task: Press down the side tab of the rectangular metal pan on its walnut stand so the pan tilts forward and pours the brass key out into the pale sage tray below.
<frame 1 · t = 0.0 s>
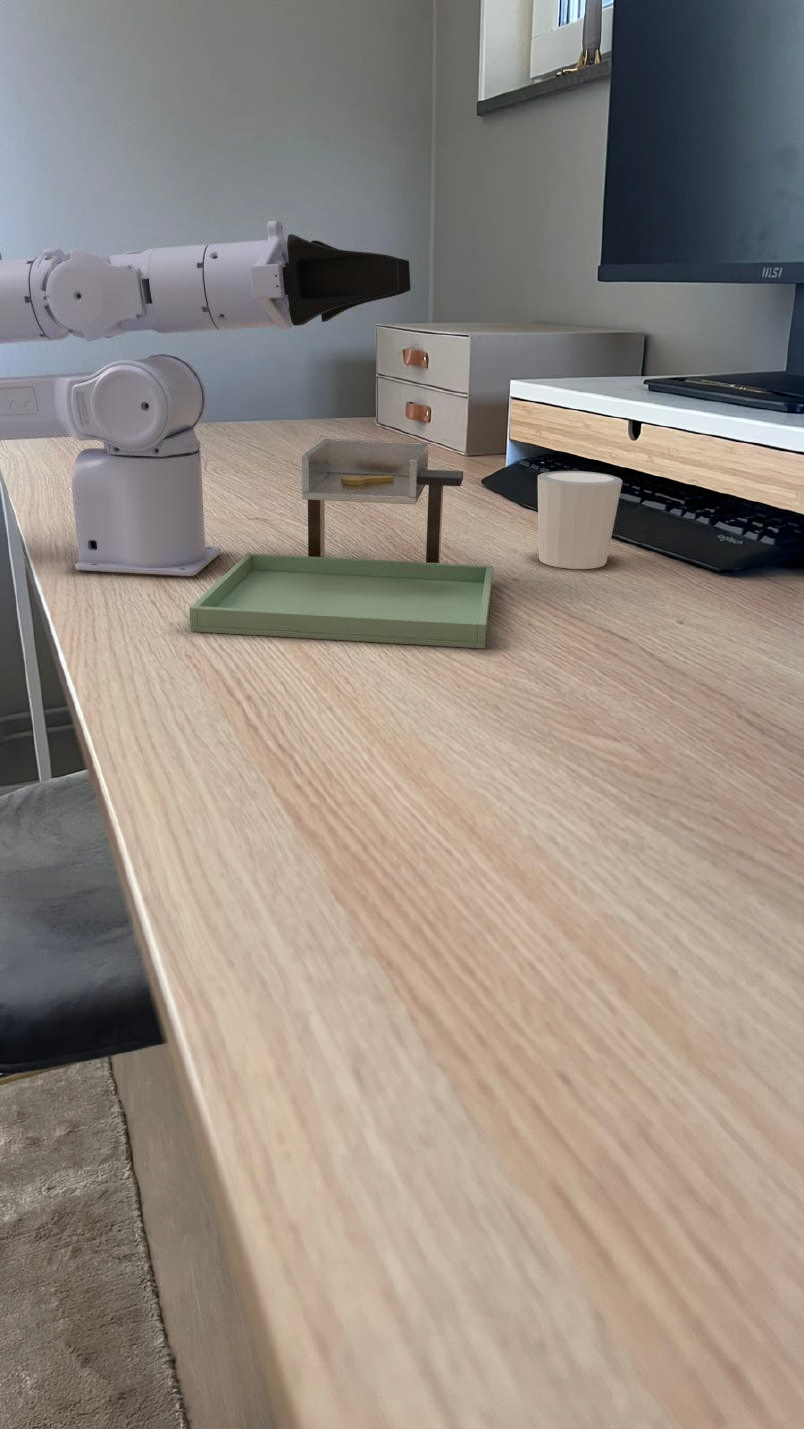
hand: (404, 274, 72), 22 cm above the table, tool horizontal, fingers open, 7 cm apart
white cup: (572, 563, 87), on the table
rectangular metal pan: (388, 470, 75), point 9 cm above the table, hinge at 0.0°, touching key
tray: (353, 607, 73), on the table
stand: (374, 568, 83), on the table
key: (368, 482, 76), point 7 cm above the table, touching rectangular metal pan
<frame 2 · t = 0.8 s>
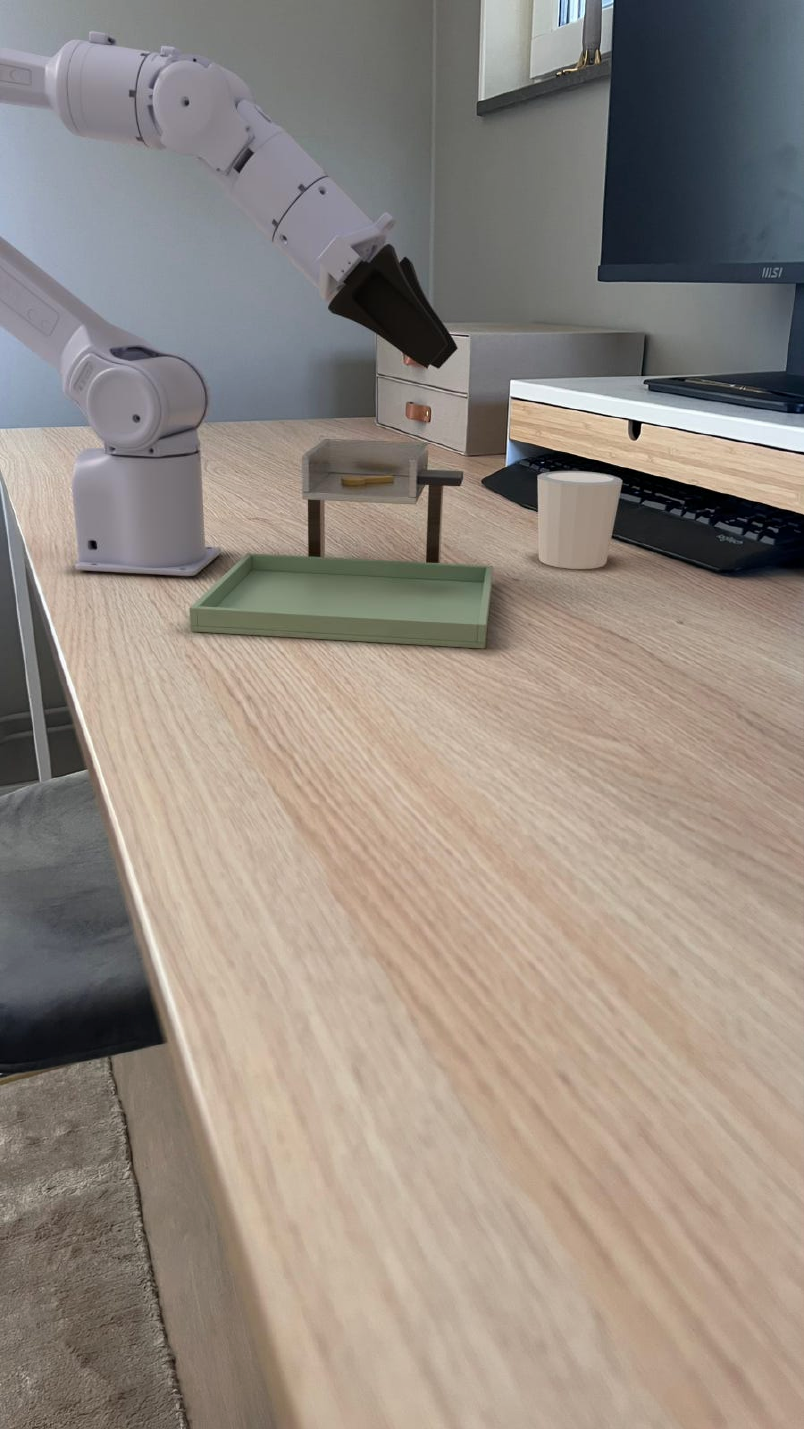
hand: (442, 357, 72), 16 cm above the table, tool tilted 50°, fingers open, 7 cm apart
nothing on the table moved.
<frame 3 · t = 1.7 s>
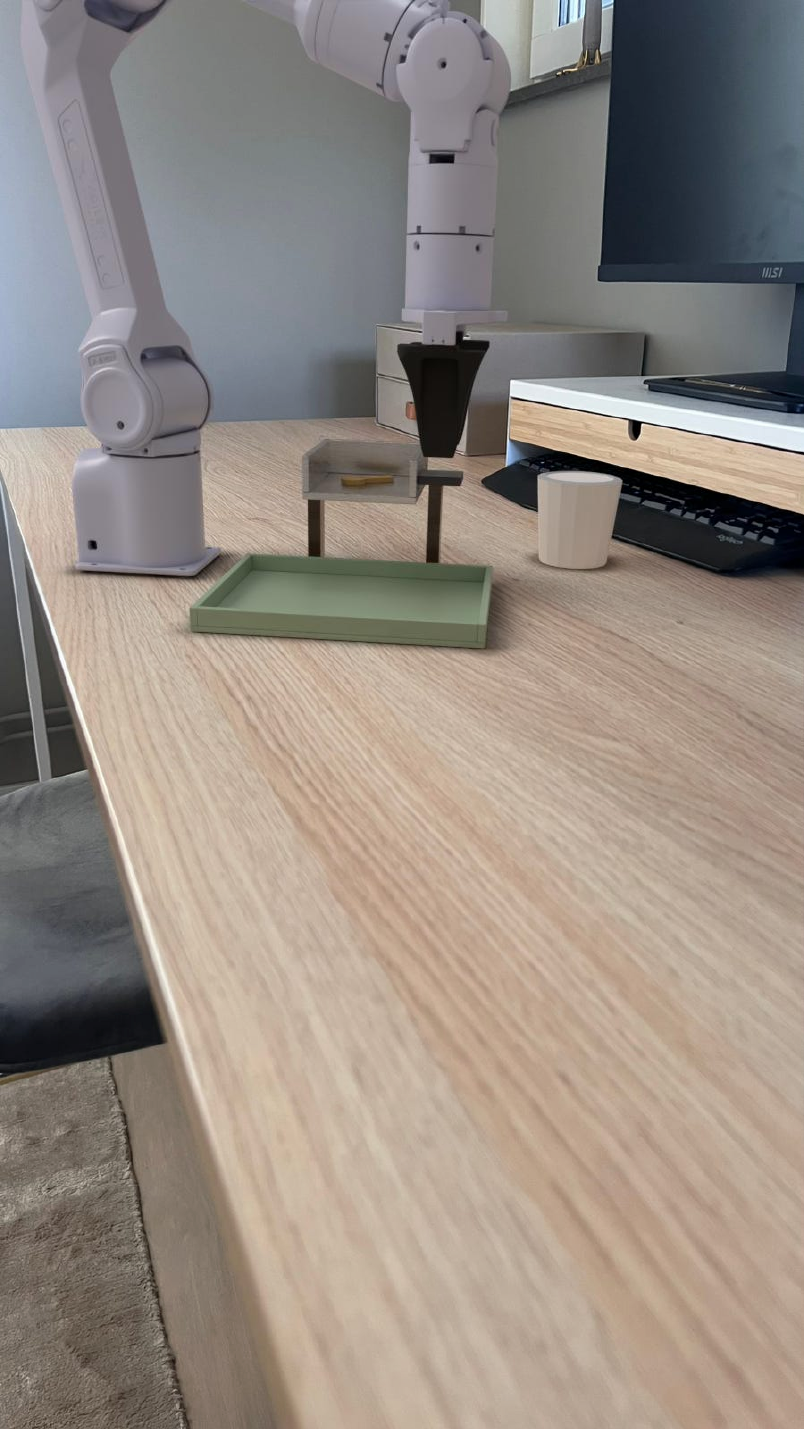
hand: (441, 450, 72), 10 cm above the table, tool pointing down, fingers open, 6 cm apart
nothing on the table moved.
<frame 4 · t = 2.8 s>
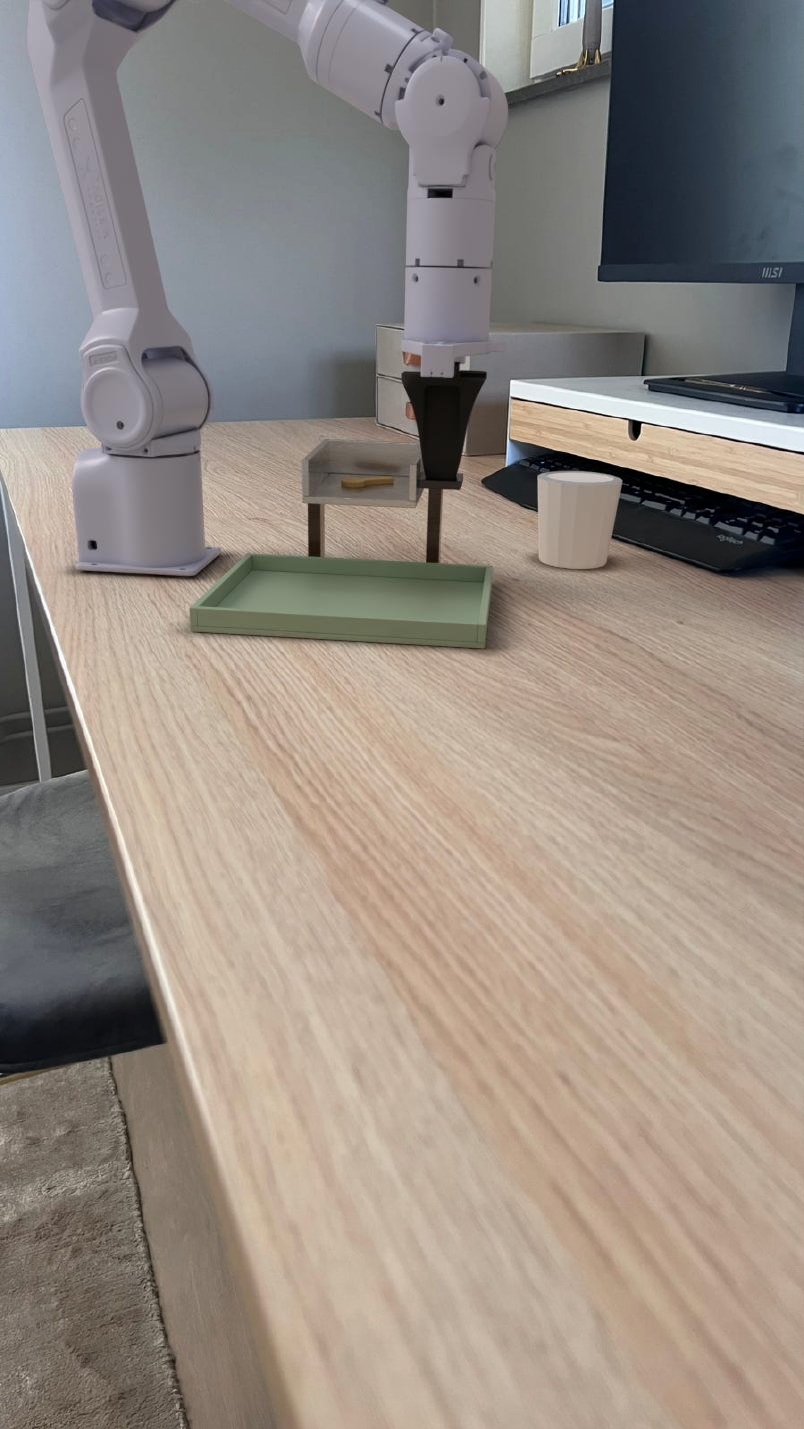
hand: (441, 477, 73), 8 cm above the table, tool pointing down, fingers closed, pressing on rectangular metal pan
rectangular metal pan: (388, 472, 75), point 8 cm above the table, hinge at 1.8°, touching gripper, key
everything else where it was.
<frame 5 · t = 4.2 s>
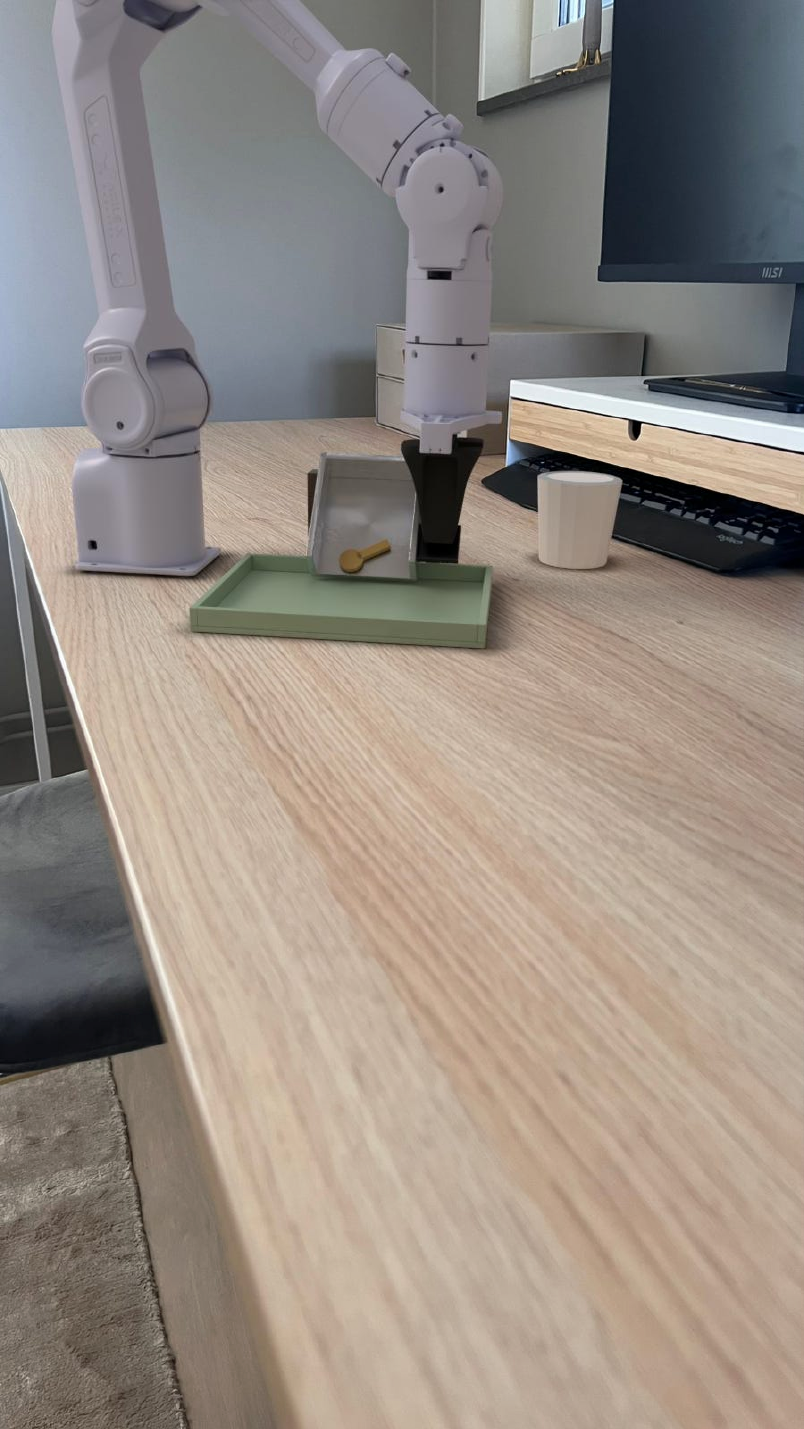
hand: (439, 541, 75), 4 cm above the table, tool pointing down, fingers closed
rectangular metal pan: (388, 515, 77), point 5 cm above the table, hinge at 46.2°, touching gripper, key
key: (366, 555, 77), point 2 cm above the table, tilted 44°, touching rectangular metal pan
everything else where it was.
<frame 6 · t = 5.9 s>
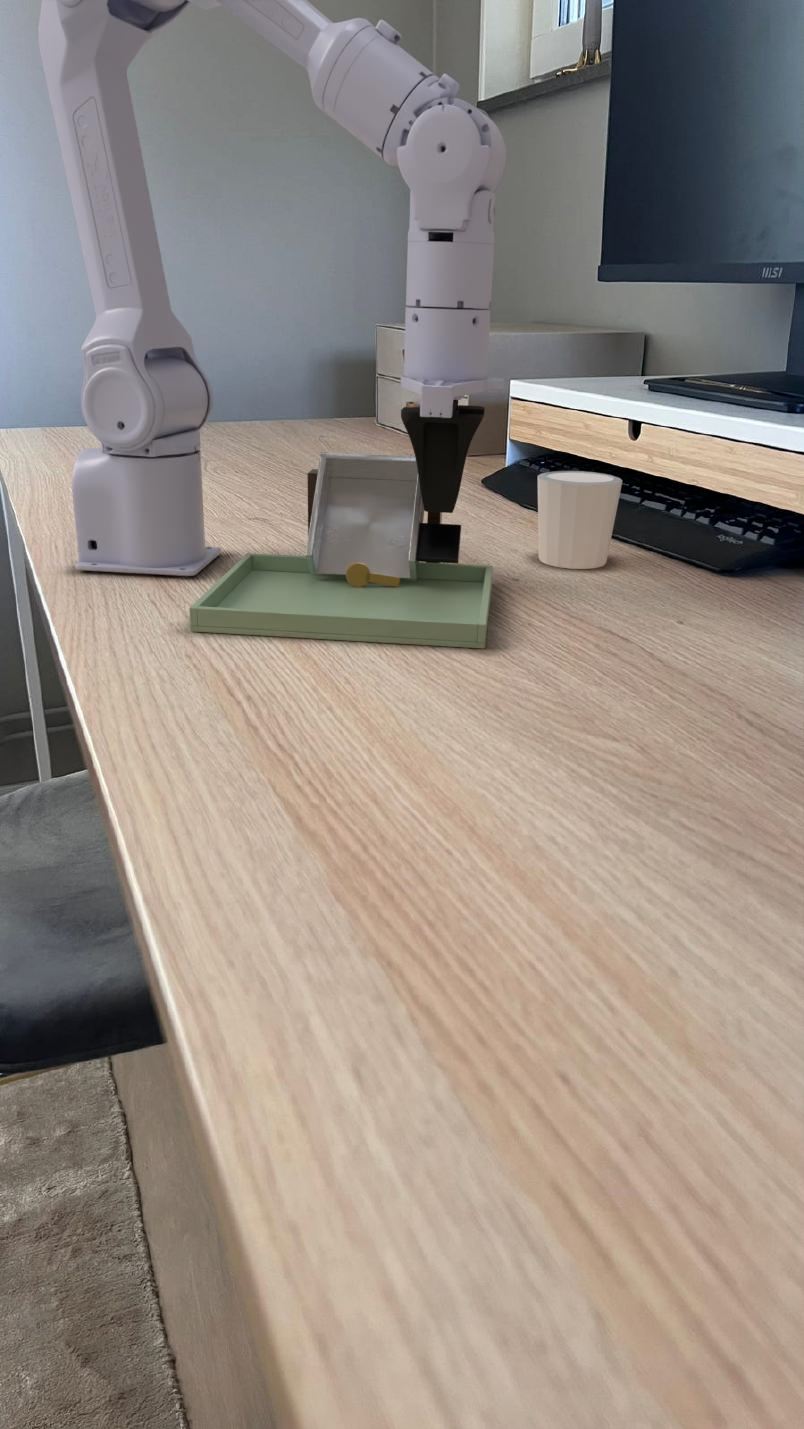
hand: (439, 510, 74), 6 cm above the table, tool pointing down, fingers closed
rectangular metal pan: (388, 515, 77), point 5 cm above the table, hinge at 45.8°
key: (373, 577, 76), point 1 cm above the table, tilted 90°, touching tray
everything else where it was.
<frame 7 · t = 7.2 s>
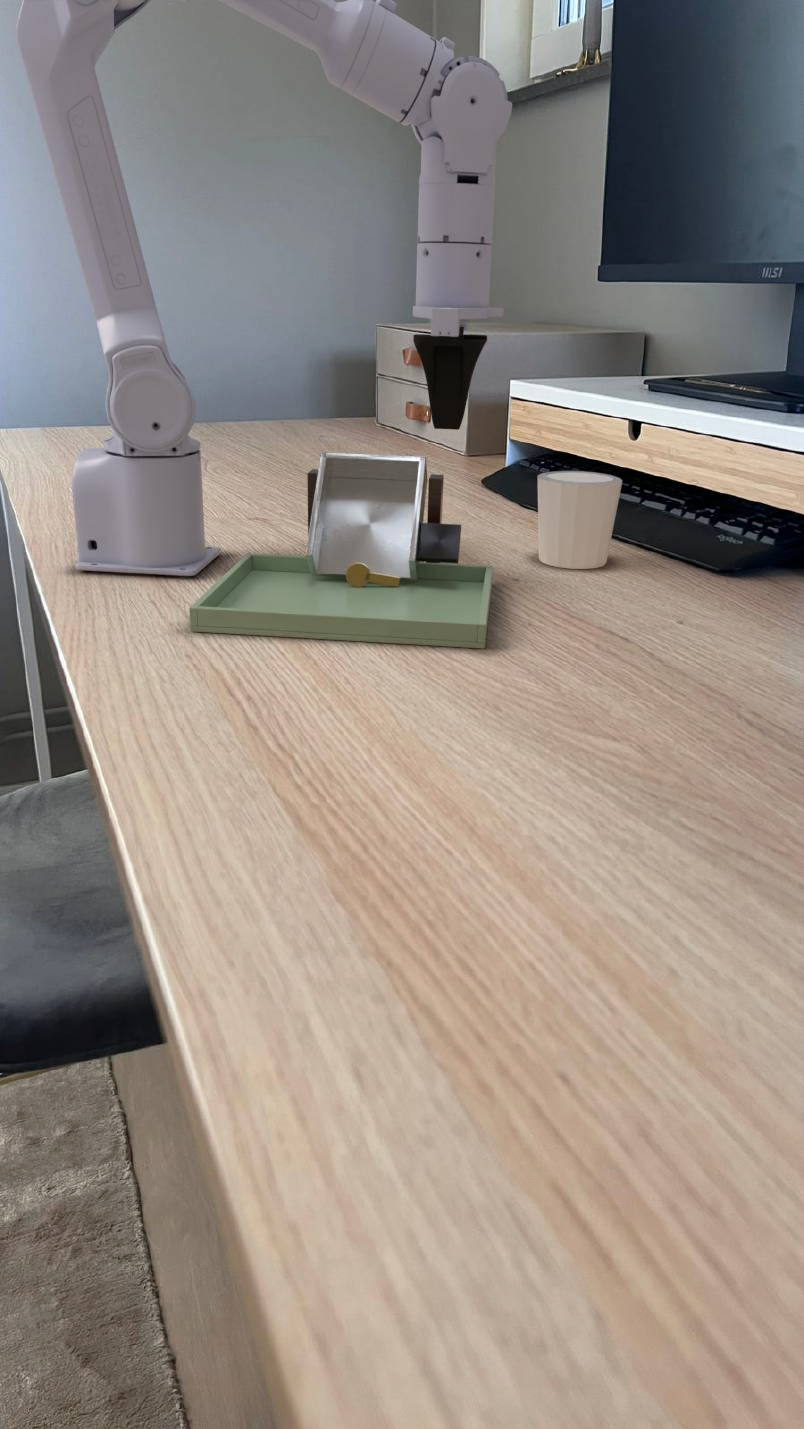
hand: (447, 428, 84), 10 cm above the table, tool pointing down, fingers closed
nothing on the table moved.
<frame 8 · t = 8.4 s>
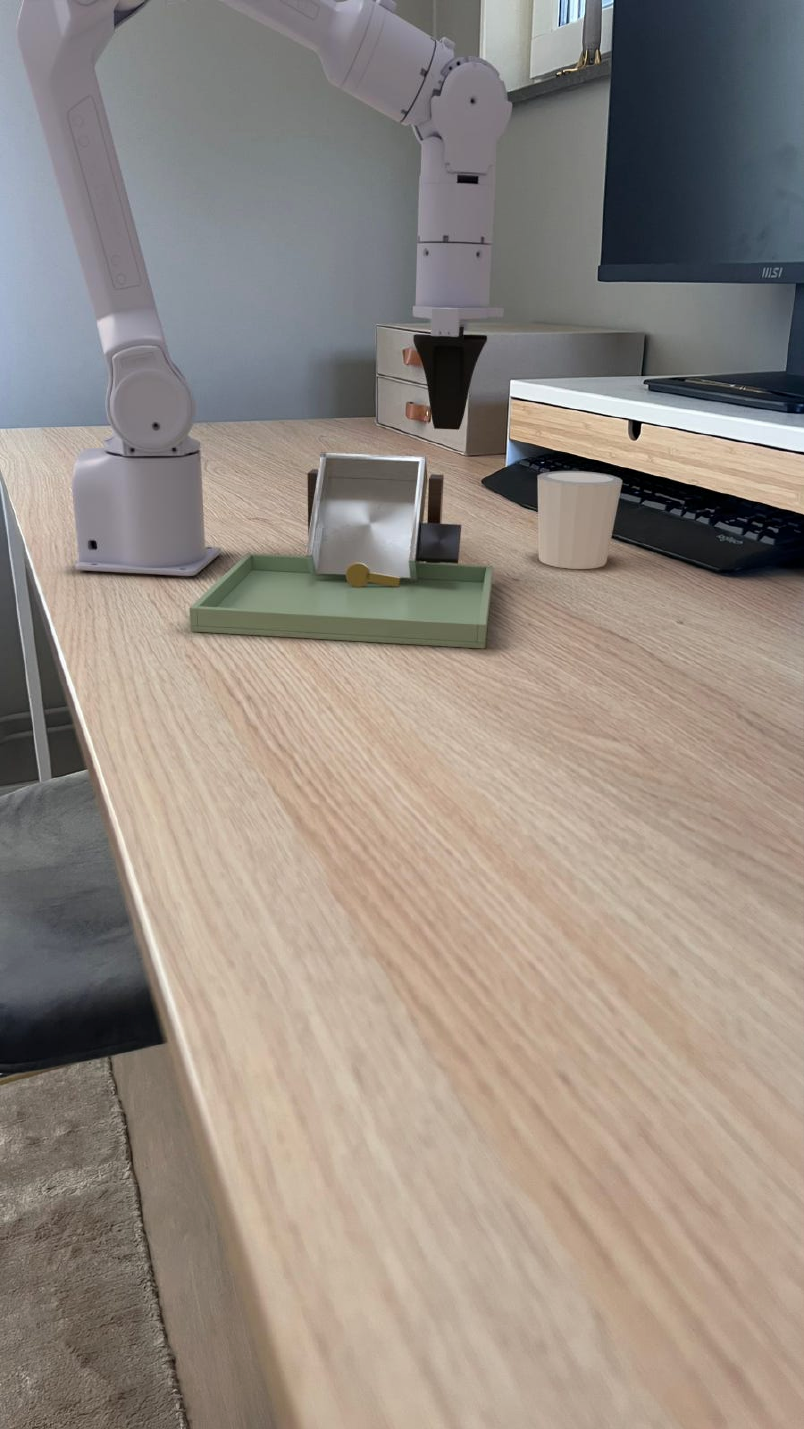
hand: (447, 428, 84), 10 cm above the table, tool pointing down, fingers closed
nothing on the table moved.
at the end: rectangular metal pan at +46° (first picture: +0°); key inside the target area (4.4 cm from its centre), point 1.1 cm above the table; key touching tray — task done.
